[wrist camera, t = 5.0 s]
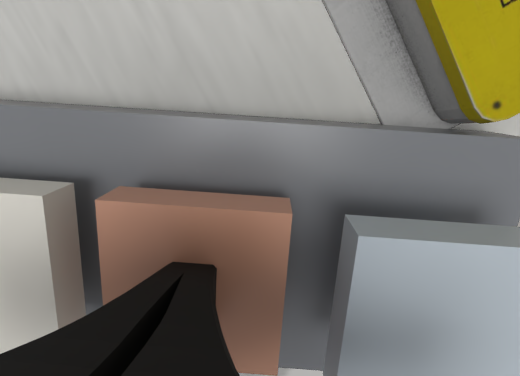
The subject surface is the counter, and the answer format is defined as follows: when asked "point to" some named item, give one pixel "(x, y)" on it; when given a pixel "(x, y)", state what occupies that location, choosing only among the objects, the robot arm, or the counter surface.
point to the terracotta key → (205, 257)
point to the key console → (267, 182)
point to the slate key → (425, 299)
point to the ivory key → (38, 260)
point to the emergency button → (434, 58)
